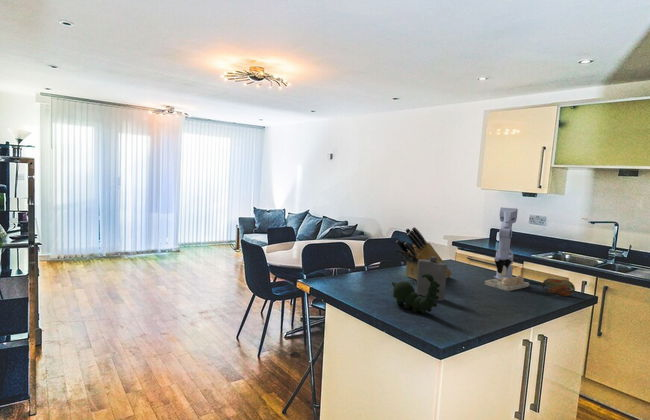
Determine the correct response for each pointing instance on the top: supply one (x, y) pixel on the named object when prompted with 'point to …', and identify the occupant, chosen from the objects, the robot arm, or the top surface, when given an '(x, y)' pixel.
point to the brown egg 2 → (520, 279)
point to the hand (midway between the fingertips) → (502, 272)
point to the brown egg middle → (513, 280)
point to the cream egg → (503, 271)
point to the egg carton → (498, 284)
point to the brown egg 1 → (506, 282)
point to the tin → (558, 286)
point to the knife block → (417, 252)
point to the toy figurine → (416, 295)
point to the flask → (436, 271)
